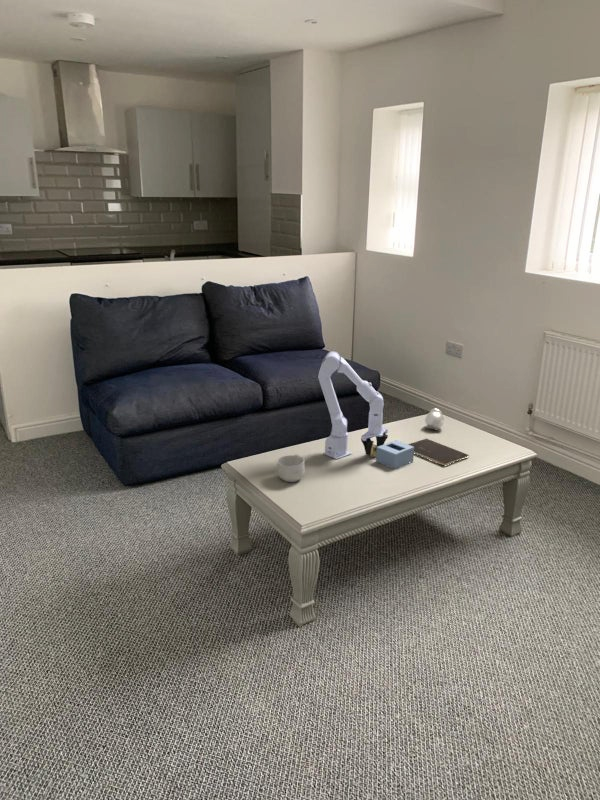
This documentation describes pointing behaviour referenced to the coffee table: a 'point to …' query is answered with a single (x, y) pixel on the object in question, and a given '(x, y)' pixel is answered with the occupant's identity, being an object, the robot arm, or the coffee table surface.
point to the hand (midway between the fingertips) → (373, 452)
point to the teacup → (291, 467)
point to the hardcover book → (437, 452)
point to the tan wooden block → (374, 451)
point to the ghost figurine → (434, 419)
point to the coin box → (395, 454)
